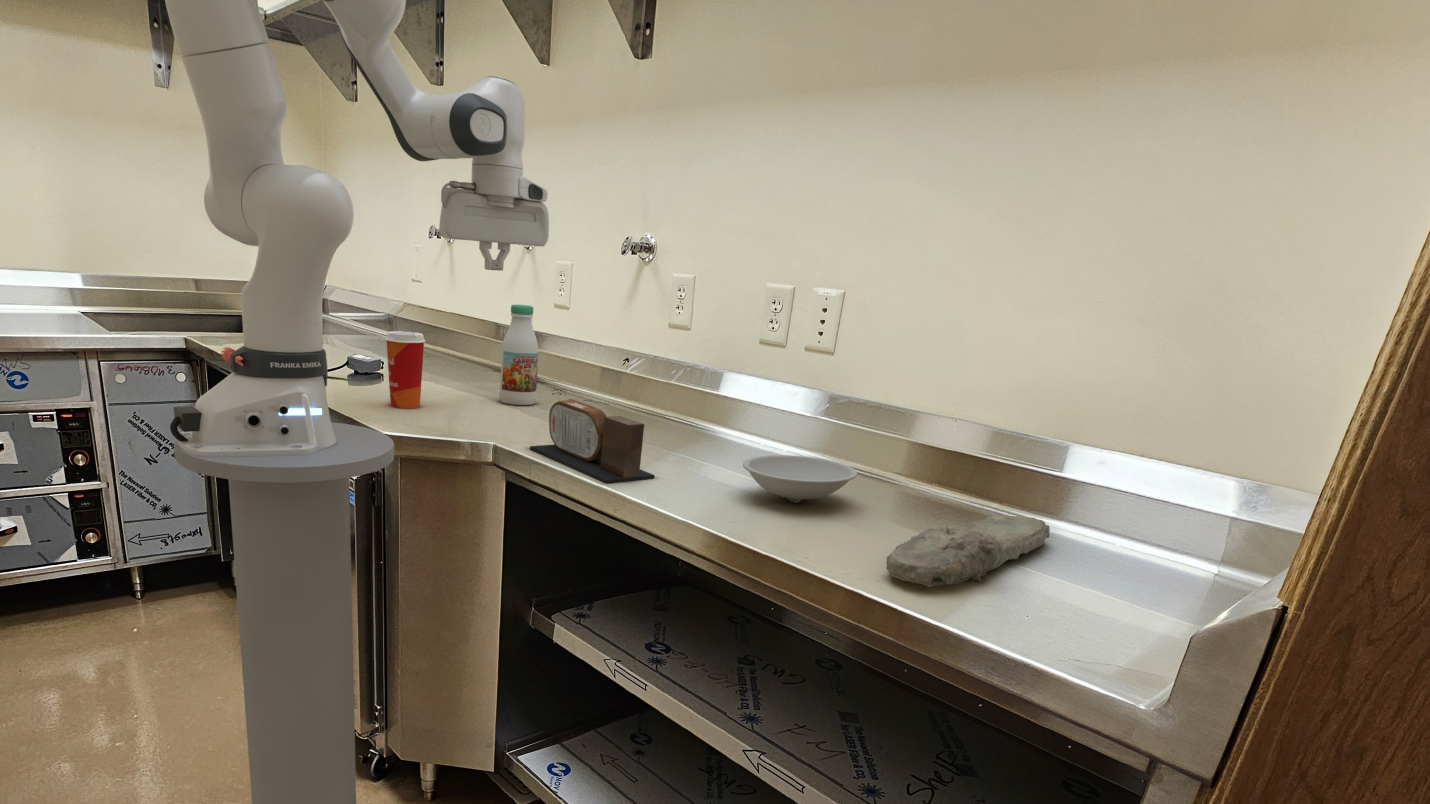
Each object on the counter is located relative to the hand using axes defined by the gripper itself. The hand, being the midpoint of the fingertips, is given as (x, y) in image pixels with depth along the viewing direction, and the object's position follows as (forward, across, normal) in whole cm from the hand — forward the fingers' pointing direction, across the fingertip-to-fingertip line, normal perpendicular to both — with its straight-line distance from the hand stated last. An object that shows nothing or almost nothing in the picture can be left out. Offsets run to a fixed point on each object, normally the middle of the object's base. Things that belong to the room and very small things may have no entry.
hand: (493, 270), depth 150 cm
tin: (+27, 0, -31) cm, 41 cm away
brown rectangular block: (+27, 0, -42) cm, 50 cm away
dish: (+27, +17, -62) cm, 70 cm away
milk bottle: (+27, +15, +15) cm, 35 cm away
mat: (+27, 0, -34) cm, 43 cm away
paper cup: (+27, -10, +16) cm, 33 cm away
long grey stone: (+27, +19, -89) cm, 95 cm away
